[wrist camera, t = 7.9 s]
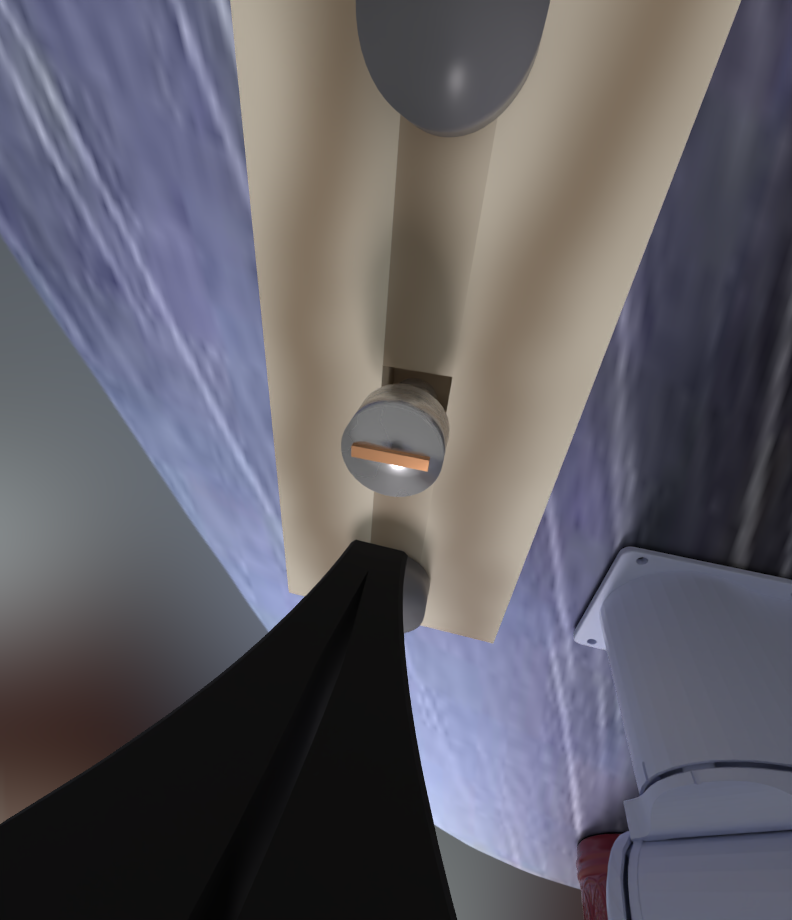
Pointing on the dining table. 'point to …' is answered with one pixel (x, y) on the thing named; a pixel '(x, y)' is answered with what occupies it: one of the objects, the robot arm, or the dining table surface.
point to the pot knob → (397, 439)
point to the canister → (594, 874)
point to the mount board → (453, 269)
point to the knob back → (414, 595)
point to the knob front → (450, 57)
